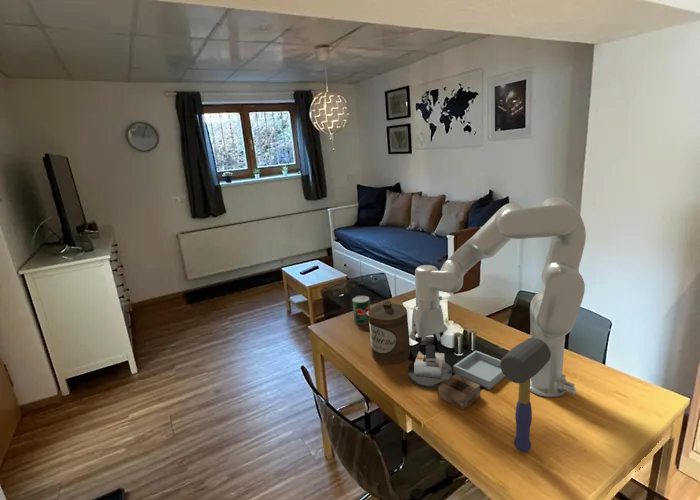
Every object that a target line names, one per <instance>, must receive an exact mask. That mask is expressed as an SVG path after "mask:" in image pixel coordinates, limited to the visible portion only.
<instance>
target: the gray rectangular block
mask: <svg viewBox="0 0 700 500" xmlns="http://www.w3.org/2000/svg"><path fill="white" fill-rule="evenodd" d="M433 337H434V336H426V337H425V341H424V344H425V348H426V355H425V362H432V363H435V353H436V351H435V343H434V338H433Z"/></svg>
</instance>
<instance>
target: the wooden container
mask: <svg viewBox="0 0 700 500" xmlns="http://www.w3.org/2000/svg"><path fill="white" fill-rule="evenodd" d="M408 317H409V316H408V309H407V308H406V307H405V305H402V304H399V303H392V301H390V300H384V301H383V302H382V303H380V304H376V305H374V306H373V307H370V310H369V323H370V327H369V331H370V332H369V338H370V347H371V356H372V358H373V359H374V360H375V361H377V362H379V363H382V364H386V365H387V364H388V365H389V364H398V363H401V362H404V361H405V360H407V359H409V357H410V354H411V347H410V343H411V342H410V337H409V335H410V330H409V320H408ZM369 323H368V324H369Z"/></svg>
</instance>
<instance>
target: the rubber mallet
mask: <svg viewBox="0 0 700 500" xmlns="http://www.w3.org/2000/svg"><path fill="white" fill-rule="evenodd" d="M550 357H551V353H550V349H549V347H548V346H547V345H546V343H544V342H543V341H542V340H540V339H538V338H530V337H529V338H527V339H525V340H523V341H522V342H520V343H519V344H517V345H515V346H513V347H512V348H511V349H510V350H509V351H508V352H507V353H505V355H504V356H503V357H502V358H501V359H500V360H501V363H500V366H501V370H502V372H503V374H504V375H505V377H504V378H507V379H508V380H509V381H511V382H512V383H515V384H518V395H517V396H518V398H517V402H516V405H515V407H516V408H515V415H514V416H515V417H514V418H515V438H514V440H513V445H514V447H515V449H516V451H517V452H519V453H520V454H527V453H528V452H529V451H530V450H531V449H532V443H531V439H530V438H531V437H530V436H531V427H532V426H531V425H532V422H533V421H532V419H533V412H532V404H531V403H532V402H531V400H530V399H531V391H530V378H532V377H533V376H534V375H536V374H537V373H538V372H539V371H540V370H541V369H542V368H543V367H544V366H545V365H546V363H547V362H548V361H549V360H550Z"/></svg>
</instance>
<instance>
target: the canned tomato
mask: <svg viewBox="0 0 700 500" xmlns="http://www.w3.org/2000/svg"><path fill="white" fill-rule="evenodd" d="M370 302H371V301H370V297H369V296H367V295H356V296H354V297H353V298H352V310H353V312H352V313H353V322H354V323H355V324H356V325H360V326H361V325H367V324H369V322H368V317H367V312H368V311H369V310H370V309H371V304H370Z"/></svg>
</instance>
